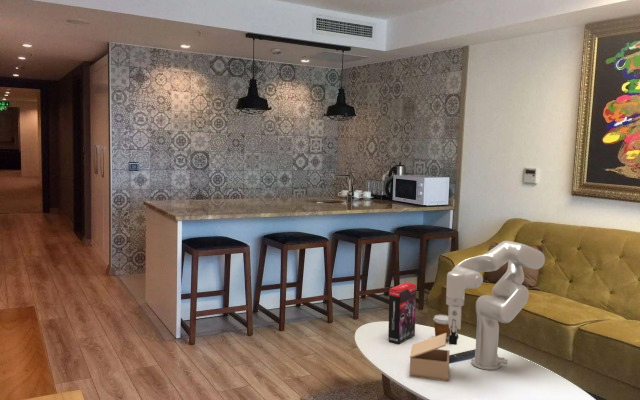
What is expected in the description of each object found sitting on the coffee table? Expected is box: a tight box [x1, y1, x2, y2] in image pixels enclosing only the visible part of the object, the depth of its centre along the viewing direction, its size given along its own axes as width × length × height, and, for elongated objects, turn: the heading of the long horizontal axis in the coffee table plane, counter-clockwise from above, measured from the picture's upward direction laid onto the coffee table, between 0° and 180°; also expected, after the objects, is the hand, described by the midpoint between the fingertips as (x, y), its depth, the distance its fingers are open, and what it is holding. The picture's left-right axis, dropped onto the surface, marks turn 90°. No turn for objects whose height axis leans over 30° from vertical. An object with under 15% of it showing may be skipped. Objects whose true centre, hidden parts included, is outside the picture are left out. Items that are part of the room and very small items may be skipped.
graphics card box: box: [387, 281, 417, 345], centre depth 275 cm, size 17×7×27 cm, turn 143°
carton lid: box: [409, 333, 459, 358], centre depth 236 cm, size 22×14×4 cm
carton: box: [409, 348, 451, 382], centre depth 238 cm, size 16×14×8 cm
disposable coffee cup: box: [432, 314, 450, 343], centre depth 275 cm, size 10×10×12 cm
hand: (452, 341), depth 234 cm, fingers closed on carton lid, 4 cm apart
